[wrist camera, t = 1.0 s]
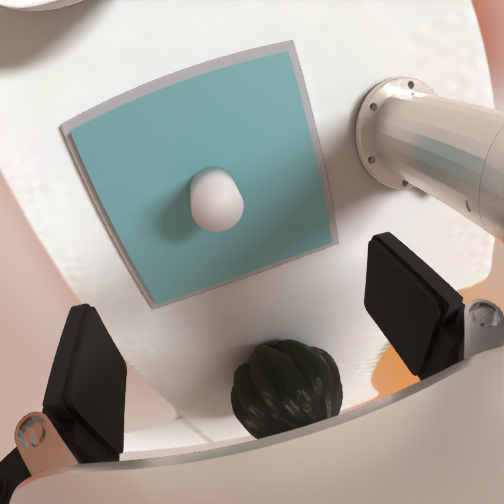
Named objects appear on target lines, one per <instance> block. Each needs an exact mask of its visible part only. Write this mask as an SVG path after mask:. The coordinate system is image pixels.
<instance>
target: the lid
mask: <svg viewBox="0 0 504 504" xmlns="http://www.w3.org/2000/svg"><path fill="white" fill-rule="evenodd" d="M70 132H71V135H72V137H73V140H74V142H75V144H76V147H77V149H78V152H79V154H80V156H81V159H82V161H83V163H84V165H85V168H86V170H87V172H88V174H89V177H90V179H91V181H92V183H93V185H94V187H95V190H96V192H97V194H98V196H99V198H100V200H101V202H102V204H103V206H104V208H105V210H106V212H107V214H108V216H109V218H110V220H111V222H112V224H113V226H114V228H115V230H116V232H117V234H118V236H119V238H120V240H121V242H122V244H123V245H124V247H125V249H126V251H127V253H128V255H129V257H130V258H131V260H132V262H133V264H134V266H135V268H136V269H137V271H138V273H139V275H140V276H141V278H142V280H143V282H144V283H145V285H146V287H147V289H148V290H149V292H150V294H151V295H152V297H153V299H154V301H155V302H156V304H157V305H158V304H160V303H163V302H166V301H169V300H172V299H175V298H178V297H181V296H184V295H187V294H190V293H192V292H195V291H198V290H201V289H204V288H207V287H210V286H212V285H215V284H218V283H221V282H224V281H227V280H229V279H232V278H235V277H238V276H241V275H244V274H246V273H249V272H252V271H255V270H258V269H260V268H263V267H266V266H269V265H272V264H274V263H277V262H280V261H283V260H285V259H288V258H291V257H294V256H296V255H299V254H302V253H305V252H307V251H310V250H313V249H316V248H318V247H321V246H324V245H326V244H329V243H332V237H331V231H330V226H329V220H328V215H327V210H326V205H325V199H324V194H323V189H322V185H321V180H320V175H319V170H318V166H317V161H316V157H315V152H314V148H313V143H312V139H311V135H310V131H309V127H308V122H307V118H306V114H305V110H304V107H303V103H302V99H301V95H300V91H299V88H298V84H297V80H296V77H295V73H294V69H293V66H292V62H291V59H290V56H289V52H288V51H287V52H282V53H278V54H273V55H269V56H265V57H261V58H257V59H253V60H249V61H245V62H241V63H238V64H234V65H230V66H227V67H224V68H220V69H217V70H214V71H210V72H207V73H204V74H201V75H198V76H195V77H192V78H189V79H186V80H184V81H181V82H178V83H175V84H172V85H170V86H167V87H164V88H162V89H159V90H157V91H154V92H152V93H149V94H147V95H144V96H142V97H140V98H137V99H135V100H132V101H130V102H128V103H126V104H123V105H121V106H119V107H117V108H115V109H112V110H110V111H108V112H106V113H104V114H102V115H100V116H98V117H96V118H94V119H92V120H90V121H88V122H86V123H84V124H82V125H80V126H78V127H76V128H74V129H72V130H71V131H70Z"/></svg>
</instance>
